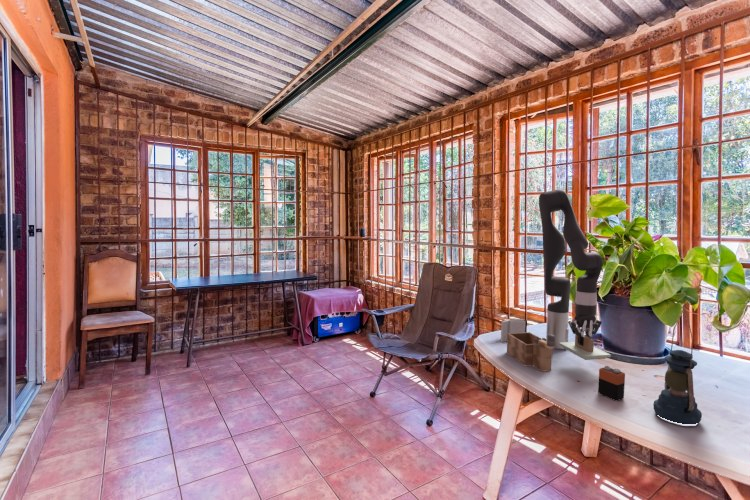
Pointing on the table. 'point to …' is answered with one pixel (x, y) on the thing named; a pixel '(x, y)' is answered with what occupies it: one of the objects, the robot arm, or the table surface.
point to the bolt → (548, 341)
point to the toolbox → (529, 350)
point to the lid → (585, 349)
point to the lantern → (678, 388)
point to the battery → (611, 383)
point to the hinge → (512, 327)
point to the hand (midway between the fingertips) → (583, 344)
